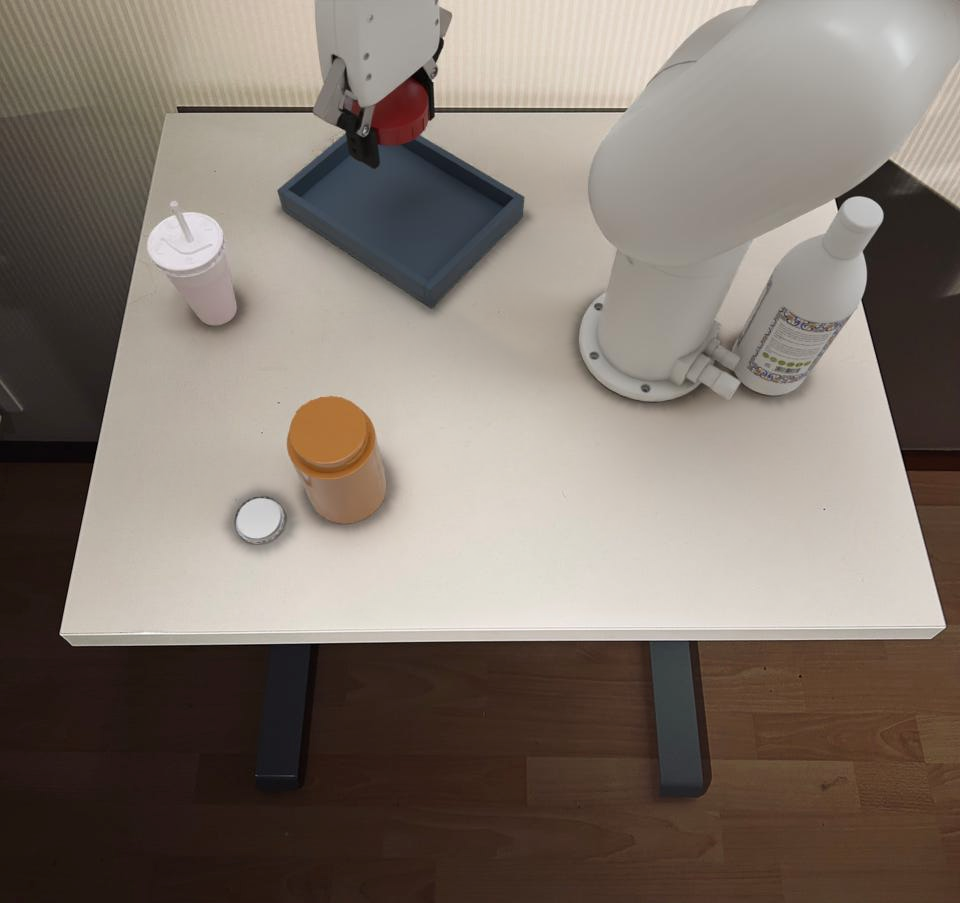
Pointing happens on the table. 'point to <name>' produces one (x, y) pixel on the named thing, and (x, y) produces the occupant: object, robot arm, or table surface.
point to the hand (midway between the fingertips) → (392, 135)
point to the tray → (404, 212)
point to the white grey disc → (259, 519)
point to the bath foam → (807, 302)
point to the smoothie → (195, 263)
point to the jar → (337, 459)
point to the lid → (400, 114)
